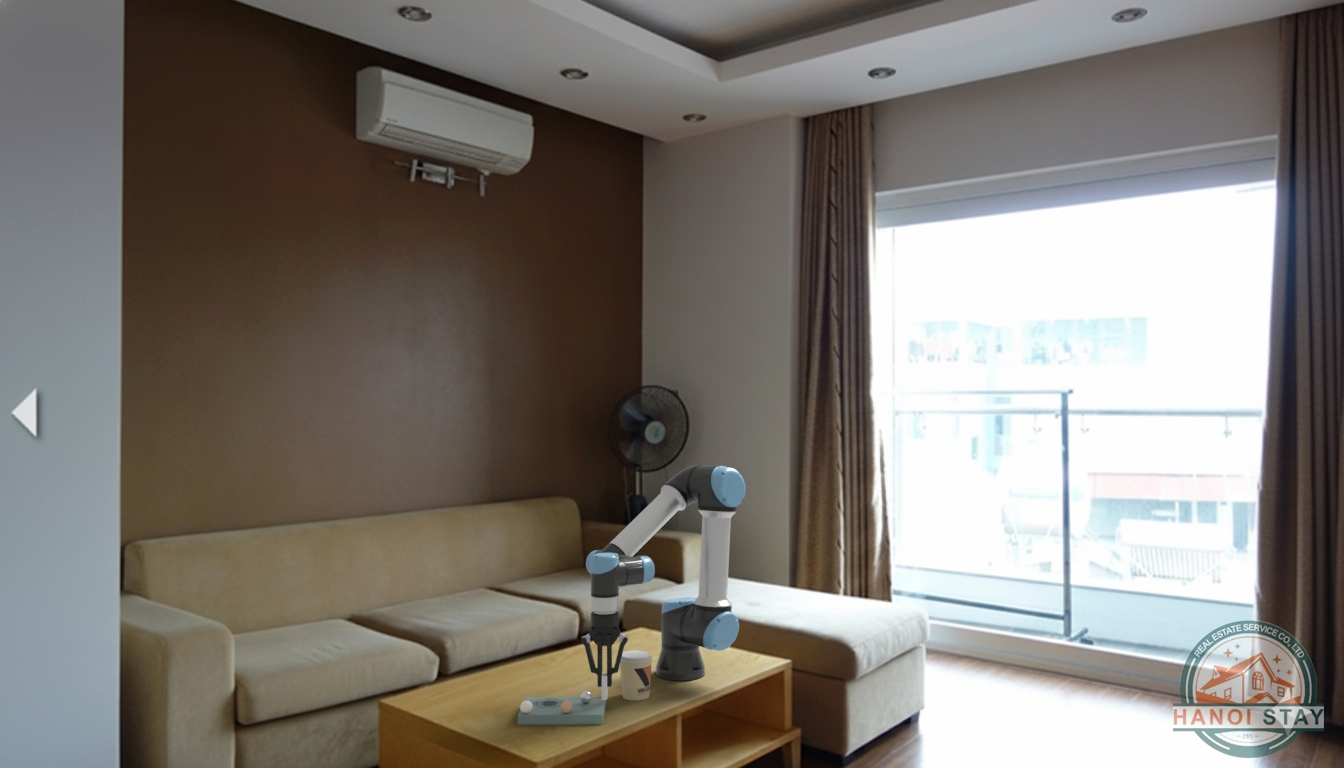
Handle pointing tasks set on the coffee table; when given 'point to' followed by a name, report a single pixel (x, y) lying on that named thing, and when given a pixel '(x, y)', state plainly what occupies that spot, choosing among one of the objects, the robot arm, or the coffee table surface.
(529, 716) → the board
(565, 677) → the coffee table surface
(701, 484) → the robot arm
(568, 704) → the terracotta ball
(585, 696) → the steel ball
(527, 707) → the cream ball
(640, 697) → the coffee cup
